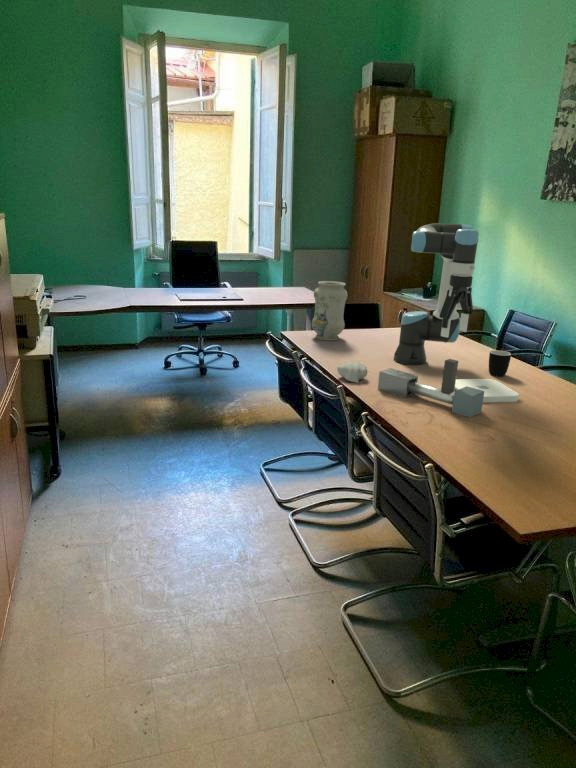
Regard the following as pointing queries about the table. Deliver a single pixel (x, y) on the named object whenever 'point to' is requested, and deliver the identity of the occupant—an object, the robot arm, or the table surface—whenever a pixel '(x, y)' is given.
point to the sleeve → (396, 382)
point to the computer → (489, 389)
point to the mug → (499, 362)
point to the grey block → (468, 401)
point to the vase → (329, 310)
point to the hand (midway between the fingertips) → (453, 334)
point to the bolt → (447, 385)
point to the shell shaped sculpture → (352, 371)
